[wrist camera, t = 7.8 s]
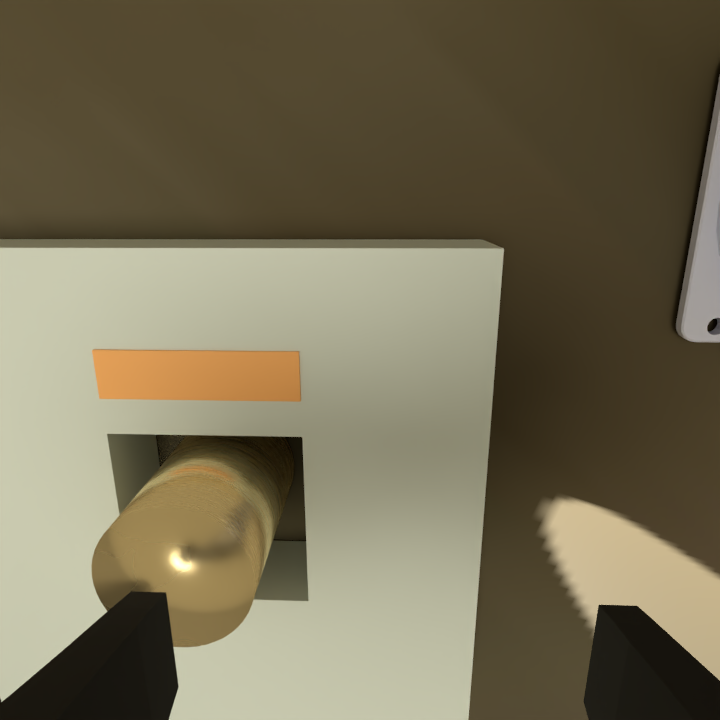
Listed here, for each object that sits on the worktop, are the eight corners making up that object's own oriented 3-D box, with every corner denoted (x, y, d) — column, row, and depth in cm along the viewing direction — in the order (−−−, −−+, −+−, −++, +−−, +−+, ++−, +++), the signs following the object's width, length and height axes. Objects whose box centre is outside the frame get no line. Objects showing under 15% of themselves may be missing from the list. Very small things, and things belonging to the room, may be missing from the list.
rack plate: (482, 239, 16) (504, 249, 13) (455, 659, 21) (467, 736, 18) (-31, 238, 17) (-122, 248, 14) (55, 645, 21) (2, 717, 18)
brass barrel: (295, 415, 18) (254, 514, 12) (293, 517, 19) (255, 653, 13) (178, 407, 18) (83, 503, 12) (184, 510, 19) (99, 640, 14)
